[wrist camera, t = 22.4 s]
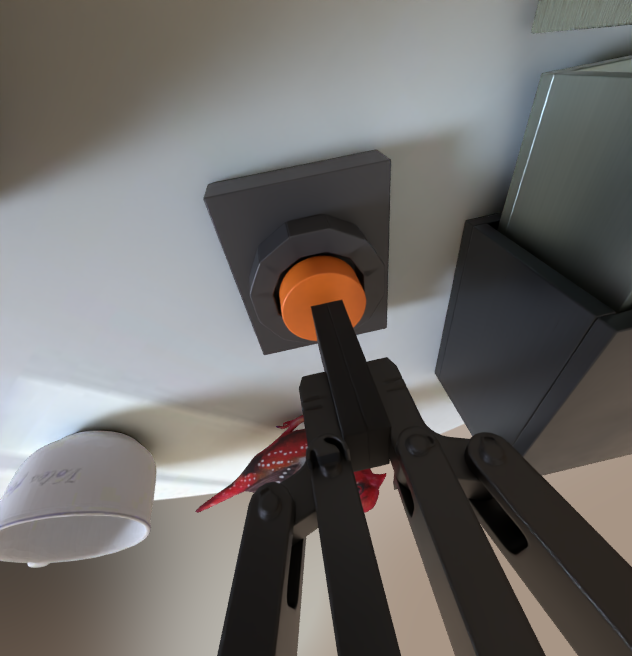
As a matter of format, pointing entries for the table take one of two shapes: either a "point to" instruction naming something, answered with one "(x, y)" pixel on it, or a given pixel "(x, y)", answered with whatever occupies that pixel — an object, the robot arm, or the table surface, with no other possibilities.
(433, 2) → the table surface
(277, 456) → the decorative bird figurine
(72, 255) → the table surface
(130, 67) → the table surface
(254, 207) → the block
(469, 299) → the cabinet
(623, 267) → the drawer
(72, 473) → the teacup
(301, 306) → the button
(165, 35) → the table surface
